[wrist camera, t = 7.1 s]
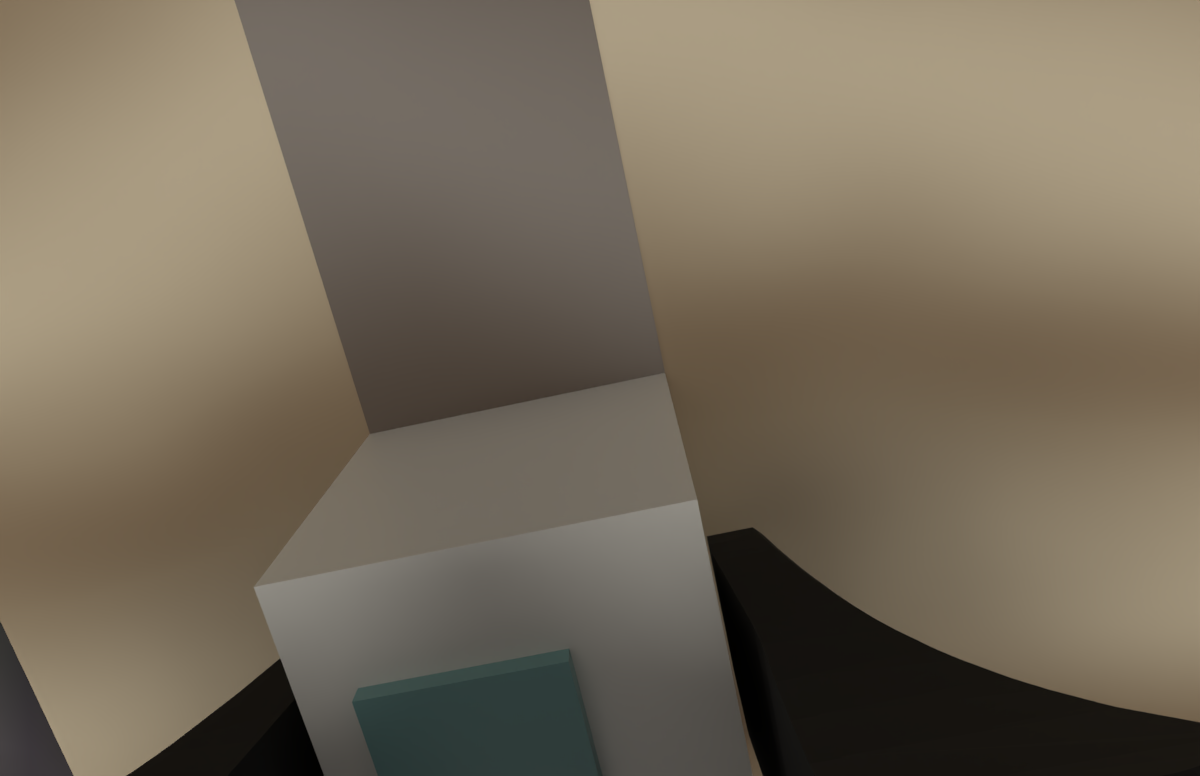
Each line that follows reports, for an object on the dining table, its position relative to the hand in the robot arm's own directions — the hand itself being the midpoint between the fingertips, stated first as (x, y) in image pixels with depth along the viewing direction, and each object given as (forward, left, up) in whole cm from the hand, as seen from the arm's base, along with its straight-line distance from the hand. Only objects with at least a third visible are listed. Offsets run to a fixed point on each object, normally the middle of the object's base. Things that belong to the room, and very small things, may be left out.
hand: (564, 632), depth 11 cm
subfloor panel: (+3, -3, -2) cm, 4 cm away
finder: (0, 0, -1) cm, 1 cm away
